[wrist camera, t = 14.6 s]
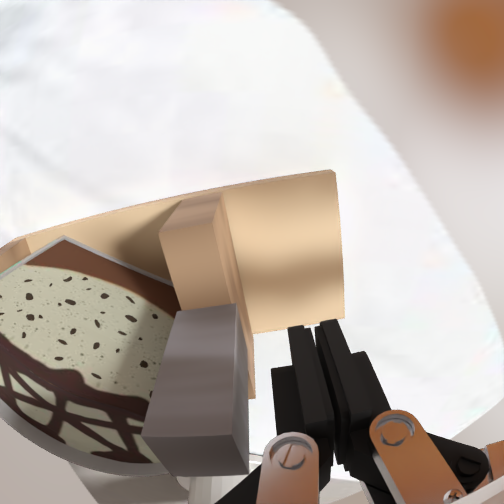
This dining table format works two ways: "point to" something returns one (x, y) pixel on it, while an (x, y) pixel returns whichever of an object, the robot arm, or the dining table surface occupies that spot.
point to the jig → (237, 245)
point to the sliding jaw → (203, 350)
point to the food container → (83, 354)
